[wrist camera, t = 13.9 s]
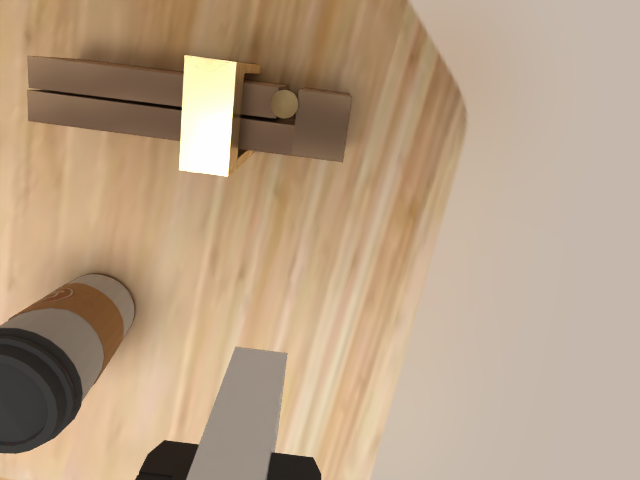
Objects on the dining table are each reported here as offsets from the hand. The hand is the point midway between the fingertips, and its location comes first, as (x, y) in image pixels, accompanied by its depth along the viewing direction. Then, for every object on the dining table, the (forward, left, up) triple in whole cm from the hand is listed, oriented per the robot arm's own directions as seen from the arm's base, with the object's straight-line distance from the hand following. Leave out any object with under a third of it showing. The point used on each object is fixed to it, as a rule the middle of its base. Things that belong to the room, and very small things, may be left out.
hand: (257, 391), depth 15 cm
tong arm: (-7, -11, -29) cm, 32 cm away
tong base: (-6, -8, -29) cm, 31 cm away
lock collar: (-6, -6, -29) cm, 31 cm away
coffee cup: (+13, -17, -30) cm, 37 cm away
